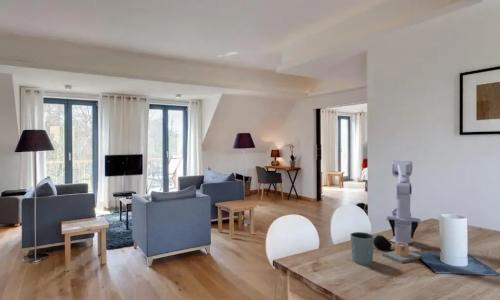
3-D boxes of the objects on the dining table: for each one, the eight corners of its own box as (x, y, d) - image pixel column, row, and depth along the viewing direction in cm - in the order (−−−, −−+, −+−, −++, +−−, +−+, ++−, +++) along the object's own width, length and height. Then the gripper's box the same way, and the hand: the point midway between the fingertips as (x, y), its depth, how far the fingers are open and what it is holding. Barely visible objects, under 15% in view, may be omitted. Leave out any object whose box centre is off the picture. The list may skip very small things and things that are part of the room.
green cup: (375, 266, 139) (375, 239, 138) (351, 264, 141) (351, 237, 140) (371, 258, 149) (371, 232, 148) (348, 256, 151) (349, 231, 150)
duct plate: (402, 251, 158) (402, 240, 158) (421, 257, 149) (421, 246, 149) (382, 255, 151) (383, 244, 151) (401, 263, 142) (401, 251, 142)
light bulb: (401, 240, 156) (377, 230, 164) (396, 250, 153) (371, 240, 160) (400, 248, 160) (376, 238, 168) (395, 258, 157) (371, 248, 164)
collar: (394, 251, 153) (395, 242, 153) (407, 253, 152) (407, 243, 152) (396, 256, 148) (396, 246, 148) (409, 257, 146) (409, 247, 146)
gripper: (387, 208, 149) (386, 237, 150) (421, 211, 144) (421, 241, 144) (386, 205, 156) (385, 233, 156) (419, 208, 150) (419, 236, 151)
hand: (402, 236), depth 151 cm, fingers open, 7 cm apart
